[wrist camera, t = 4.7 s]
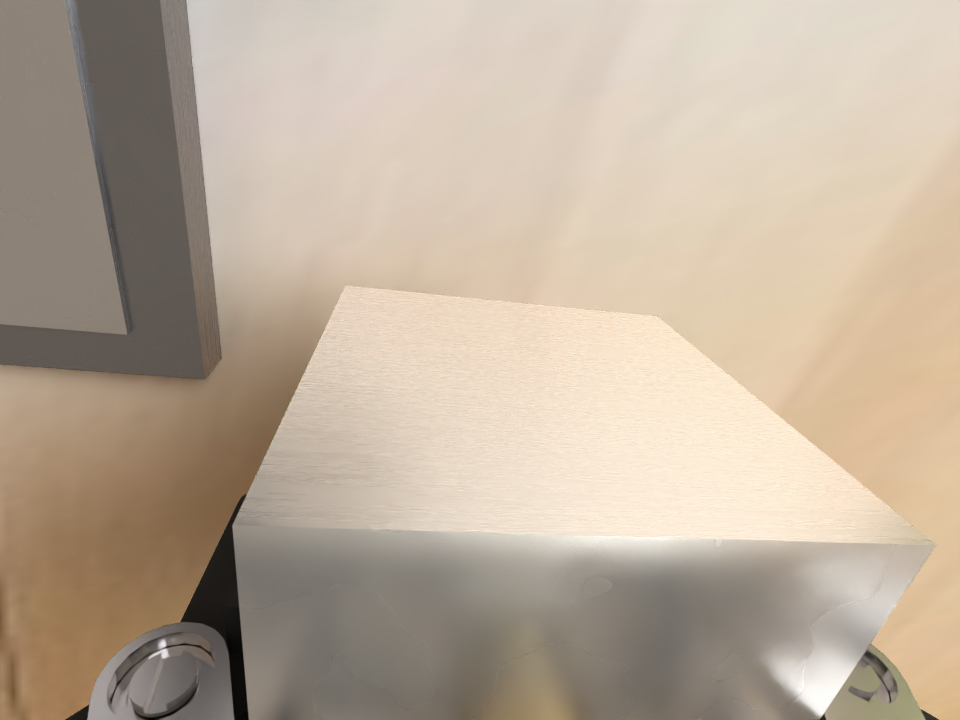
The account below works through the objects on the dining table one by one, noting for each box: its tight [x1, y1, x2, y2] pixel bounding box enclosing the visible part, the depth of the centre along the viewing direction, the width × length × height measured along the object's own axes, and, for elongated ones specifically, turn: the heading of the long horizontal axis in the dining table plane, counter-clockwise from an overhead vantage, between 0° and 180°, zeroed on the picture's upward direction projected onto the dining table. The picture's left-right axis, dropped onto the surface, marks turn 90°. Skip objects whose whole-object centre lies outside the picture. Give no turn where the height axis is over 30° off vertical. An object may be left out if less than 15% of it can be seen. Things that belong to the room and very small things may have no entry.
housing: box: [232, 285, 936, 720], centre depth 8 cm, size 8×6×8 cm
